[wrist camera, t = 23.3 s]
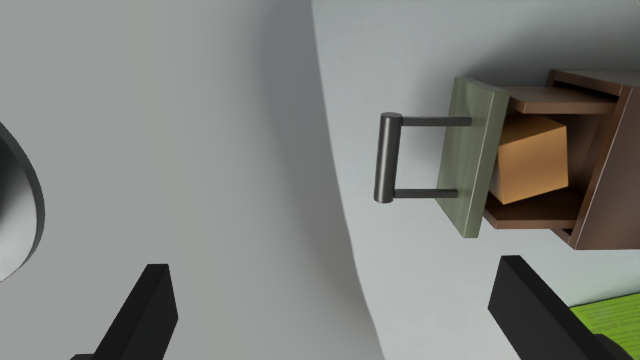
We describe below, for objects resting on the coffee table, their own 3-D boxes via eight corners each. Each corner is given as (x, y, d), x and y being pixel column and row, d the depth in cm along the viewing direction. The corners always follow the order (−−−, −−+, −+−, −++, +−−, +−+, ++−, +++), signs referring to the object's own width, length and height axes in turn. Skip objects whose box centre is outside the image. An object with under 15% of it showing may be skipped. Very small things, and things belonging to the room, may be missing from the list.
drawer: (363, 199, 35) (377, 239, 28) (373, 75, 30) (391, 90, 24) (571, 198, 36) (627, 237, 29) (610, 78, 31) (688, 93, 25)
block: (468, 127, 31) (496, 146, 27) (527, 109, 31) (566, 125, 26) (475, 178, 33) (503, 204, 29) (531, 162, 33) (568, 186, 28)
